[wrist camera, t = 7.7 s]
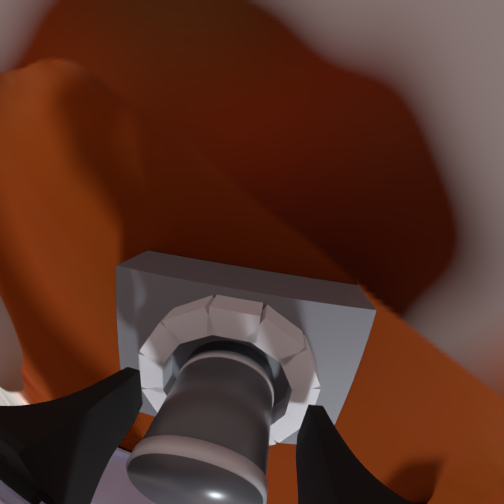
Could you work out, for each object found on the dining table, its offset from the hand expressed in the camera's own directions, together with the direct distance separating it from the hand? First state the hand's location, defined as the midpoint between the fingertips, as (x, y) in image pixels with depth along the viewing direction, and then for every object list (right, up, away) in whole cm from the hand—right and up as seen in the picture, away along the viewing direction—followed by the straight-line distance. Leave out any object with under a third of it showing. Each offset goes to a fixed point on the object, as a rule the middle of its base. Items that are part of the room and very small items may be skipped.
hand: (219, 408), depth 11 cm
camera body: (+1, +1, +6) cm, 6 cm away
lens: (0, 0, +2) cm, 3 cm away
